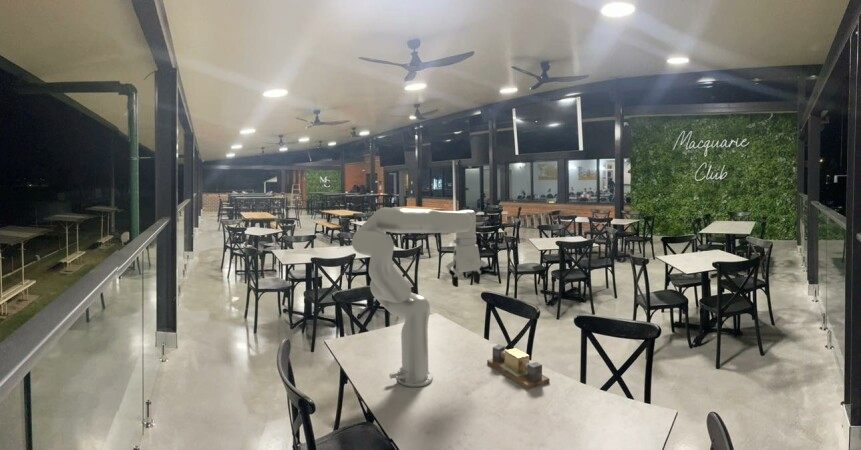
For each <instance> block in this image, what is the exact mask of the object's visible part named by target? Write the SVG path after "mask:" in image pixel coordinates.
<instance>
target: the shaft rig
mask: <svg viewBox="0 0 861 450" xmlns="http://www.w3.org/2000/svg"><path fill="white" fill-rule="evenodd" d="M505 350H506V346H505V345H501V344H497V345H494V346H492V358H491V359H487V360H486V361H487V362H486V364H487V365H488V366H490V367H492V368H493V369H495V370H496V371H498V372H499V373H500V374H503V375H504V376H506V377H507V378H509V379H511V380H512V381H513V382H515V383H517V384H518V385H520V386H521V387H523V388H525V389H526V390H529V389H533V388H536V387H540V386H542V385H547V384H549V383H550V377H548V376H546V375H544V374H543V364H541V363H539V362H537V361H535V362H532V363H530V362H529V363H527V364H526V365H525V369H526V370H527V372H524V373H520V374H517V373H516V372H514V371H512V370H511V369H509V368H508V367H506V366H505Z"/></svg>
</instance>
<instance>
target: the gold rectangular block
mask: <svg viewBox="0 0 861 450" xmlns="http://www.w3.org/2000/svg"><path fill="white" fill-rule="evenodd" d="M527 363H529V364H530V354H528V353H525V352H524V351H522V350H520V349H518V348H516V347H514V348H510V349H505V366H506V367H508V368H509V369H511V370H512V371H514V372H516V373H517V374H520V373H524V372H527V370H526V369H525V365H526V364H527Z"/></svg>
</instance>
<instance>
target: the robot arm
mask: <svg viewBox="0 0 861 450" xmlns="http://www.w3.org/2000/svg"><path fill="white" fill-rule="evenodd" d="M476 214H477V213H476V212H475V211H474V210H472V209H461V210H443V211H442V210H436V209H429V208H402V207H399V208H398V207H387V206H385V207H381V208H379V209H378V210H376V211H375V212H374V213H373V214H372V215H371V216H370V217H369V218H368V219H367V220H365V222H364V223H363V224H362V225H361V226H360V227H359V228H358V229H357V230H356V231H355V232H354V234H353V237H352V240H351V245H352V248H353V250H354V251H355V253H358V254H360V255H365V256H369V257H370V259H369V263H368V275H369V277H370V279H371V280H370V283H369V288H370V293H371V294H372V297H374V298H375V299H376V300H377V301H378V302H379V304H380V305H382V307H384V309H385V310H387V311H388V313H390V314H392V315H394V316H396V317H399V318H401V319H404V322H403V325H402V327H401V328H402V329H401V332H400V335H401V336H400V341H401V343H400V344H401V366H400V367H399V369H398V370H397V371H395V372H390V373H389V379H391V380H392V379H395V380H396V381H398V383H400V384H401V385H403V386H405V387H410V388H417V387H419V388H420V387H423V386H427V385H429V384H430V383H432V381H433V379H434V378H433V377H434V376H433V373H432V372H430V371H429V336H428V335H429V334H428V330H429V329H428V328H429V326H428V325H429V320H430V319H429V318H430V314H431V305H430V303H429V301H428V299H427V298H425V297H424V296H422V295H420V294H417V293H413V292H412V288H411V285H410V283H409V282H408V280H407V279H406V278H405V277H404V276H403V275H402V274H401V273H400V272H399V271H398V269H397V268H396V267H395V266H394V263H393V254H394V250H395V245H394V241H393V238H392V237H391V236H390V235H389V234H388V233H394V234H439V233H440V234H441V233H443V234H447V233H448V234H456V235H455V239H453V244H456V245H454V250H453V253H452V254H453V256H452V257H453V258H452V261H451V262H449V263H448V264H446V265H445V268H446V270H447V272H448V274H450V276H451V284H452V286H454V287H455V288H458V287H459V277H458V275H459V273H465V272H474V273H473V282H474V284H477V285H480V281H481V279H480V278H481V274H482V271H483V270H484V268H485V265H486V261H484V260H482V259H481V256H480V251H479V245H478V244H476V243H477V242H476V240H477V238H476V237H477V235H476V228H477V226H476V225H477V224H476V223H477V222H476V221H477V220H476V219H477V218H476V216H477V215H476ZM386 232H388V233H386ZM452 268H453V269H452Z"/></svg>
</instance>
